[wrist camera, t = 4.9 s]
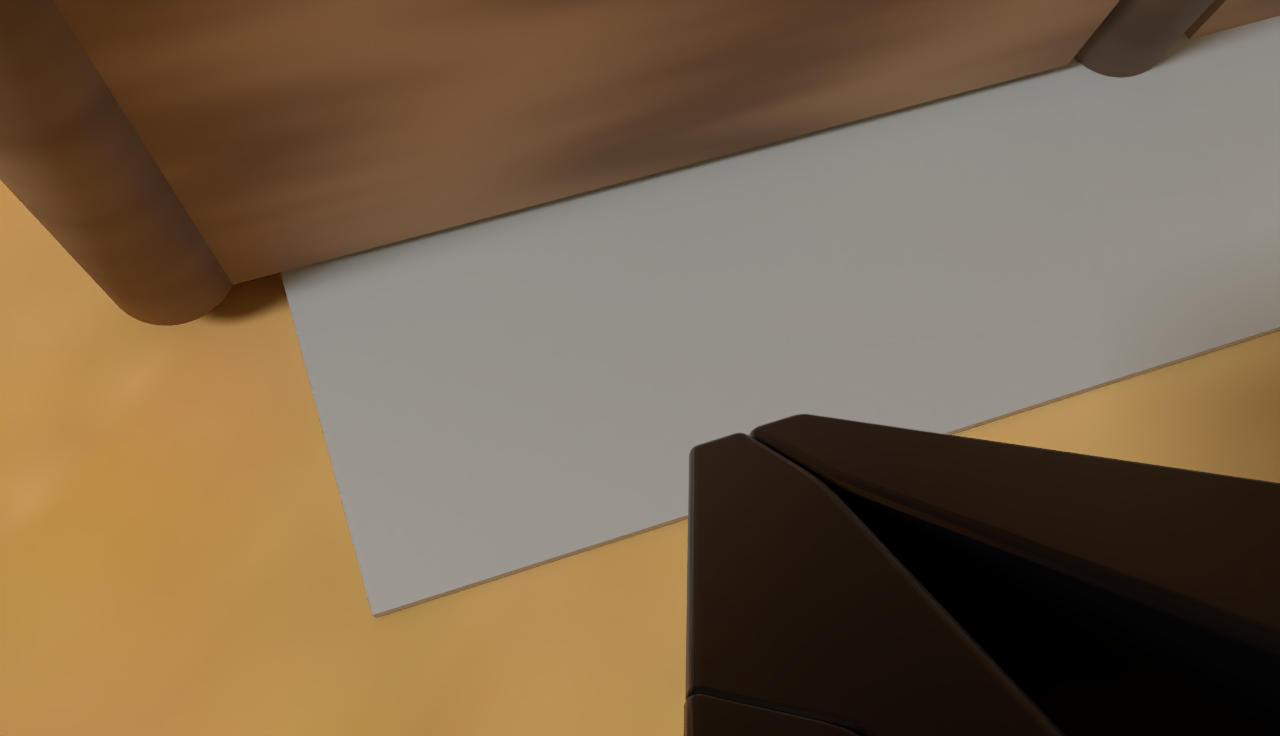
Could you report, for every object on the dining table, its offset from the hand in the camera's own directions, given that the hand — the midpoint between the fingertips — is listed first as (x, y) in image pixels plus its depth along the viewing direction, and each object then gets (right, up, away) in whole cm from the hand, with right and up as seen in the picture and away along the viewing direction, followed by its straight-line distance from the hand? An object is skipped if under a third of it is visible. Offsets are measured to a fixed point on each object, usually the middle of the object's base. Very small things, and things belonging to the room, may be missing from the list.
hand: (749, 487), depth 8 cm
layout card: (+5, +6, +13) cm, 16 cm away
